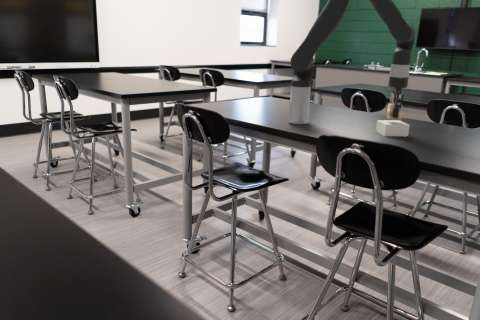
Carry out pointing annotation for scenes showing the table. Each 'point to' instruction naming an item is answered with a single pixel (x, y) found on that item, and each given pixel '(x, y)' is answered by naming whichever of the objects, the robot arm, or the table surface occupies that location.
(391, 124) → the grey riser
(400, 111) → the beech block
